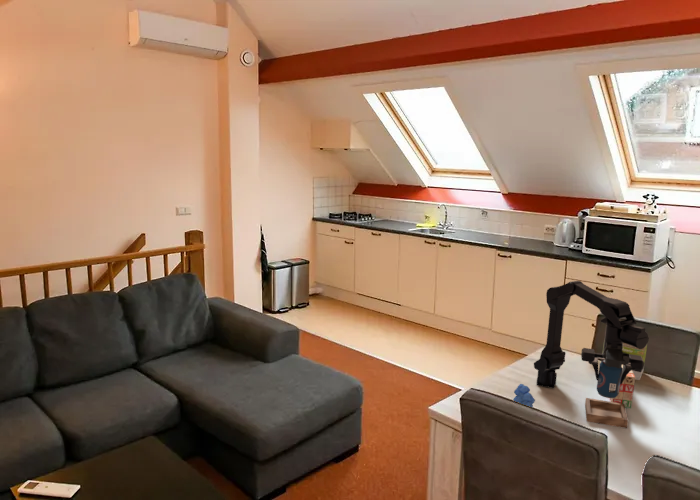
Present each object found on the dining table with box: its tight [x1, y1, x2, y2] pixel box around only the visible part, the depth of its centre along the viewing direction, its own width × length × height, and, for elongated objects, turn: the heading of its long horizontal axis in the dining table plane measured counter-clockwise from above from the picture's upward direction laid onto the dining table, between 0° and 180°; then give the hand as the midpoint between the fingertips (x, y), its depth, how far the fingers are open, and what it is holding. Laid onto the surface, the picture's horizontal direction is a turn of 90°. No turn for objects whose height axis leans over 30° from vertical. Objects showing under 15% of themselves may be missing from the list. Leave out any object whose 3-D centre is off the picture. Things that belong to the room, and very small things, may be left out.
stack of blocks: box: [609, 365, 636, 409], centre depth 203 cm, size 21×6×12 cm, turn 164°
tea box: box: [600, 337, 648, 381], centre depth 222 cm, size 15×10×15 cm
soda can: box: [596, 359, 622, 399], centre depth 185 cm, size 7×7×12 cm
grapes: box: [513, 383, 536, 408], centre depth 185 cm, size 12×7×12 cm, turn 5°
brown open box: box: [584, 397, 629, 429], centre depth 187 cm, size 12×12×3 cm
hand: (608, 381), depth 185 cm, fingers closed on soda can, 7 cm apart
